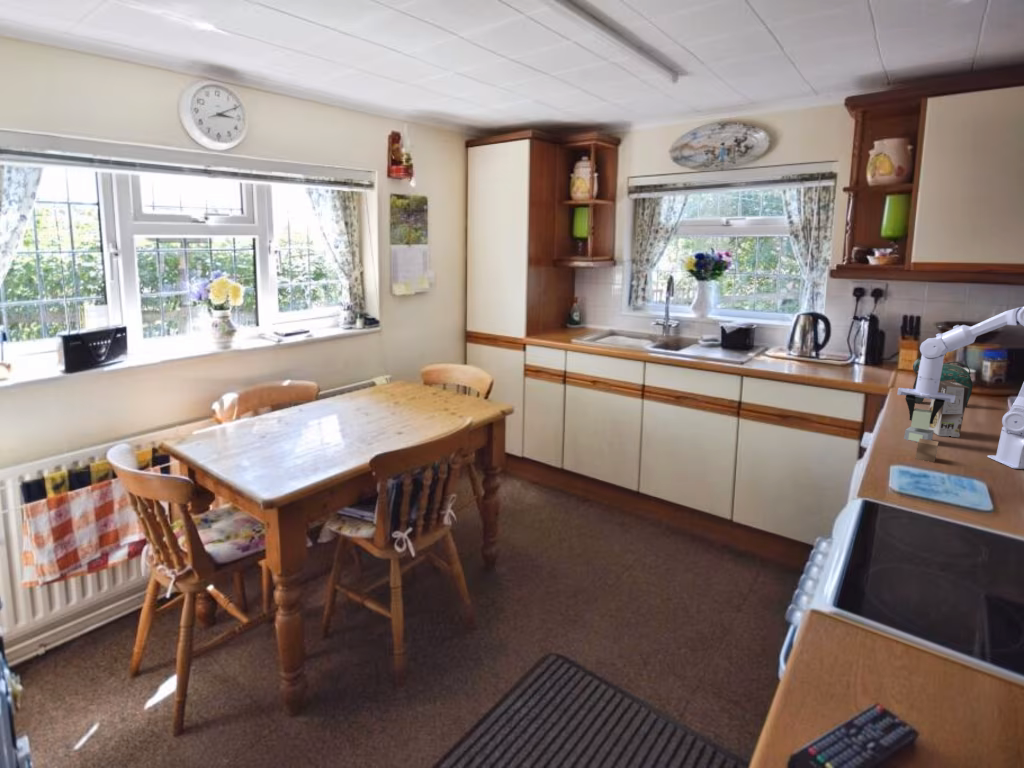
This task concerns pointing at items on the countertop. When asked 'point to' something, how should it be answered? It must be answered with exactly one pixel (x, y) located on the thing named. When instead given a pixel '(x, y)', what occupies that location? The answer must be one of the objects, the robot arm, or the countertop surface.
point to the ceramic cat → (948, 376)
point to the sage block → (921, 418)
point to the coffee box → (950, 410)
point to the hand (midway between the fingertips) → (921, 421)
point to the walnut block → (926, 450)
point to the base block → (918, 434)
